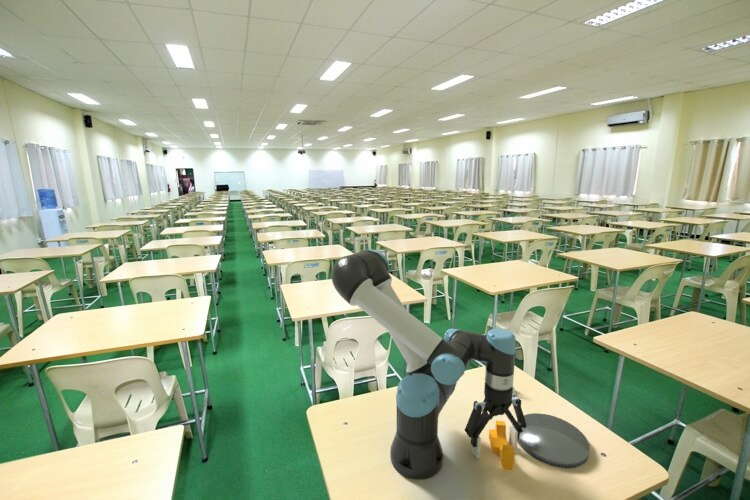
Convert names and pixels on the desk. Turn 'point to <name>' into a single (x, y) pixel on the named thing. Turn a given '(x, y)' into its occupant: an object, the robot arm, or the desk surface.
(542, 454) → the dark grey flat disc
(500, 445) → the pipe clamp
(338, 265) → the robot arm
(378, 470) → the desk surface
